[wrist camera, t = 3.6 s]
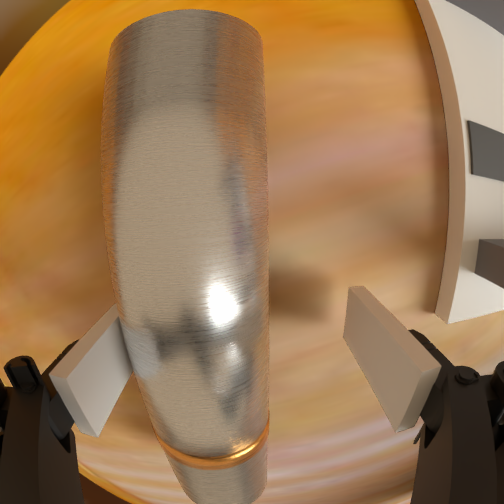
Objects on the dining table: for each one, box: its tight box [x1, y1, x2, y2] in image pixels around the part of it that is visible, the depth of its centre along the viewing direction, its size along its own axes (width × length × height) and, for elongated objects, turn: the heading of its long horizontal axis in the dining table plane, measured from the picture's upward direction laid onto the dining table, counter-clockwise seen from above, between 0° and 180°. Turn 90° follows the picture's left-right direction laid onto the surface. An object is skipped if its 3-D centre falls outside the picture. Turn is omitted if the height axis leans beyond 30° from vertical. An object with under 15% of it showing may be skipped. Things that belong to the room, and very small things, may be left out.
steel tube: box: [101, 9, 269, 504], centre depth 11 cm, size 24×6×6 cm
